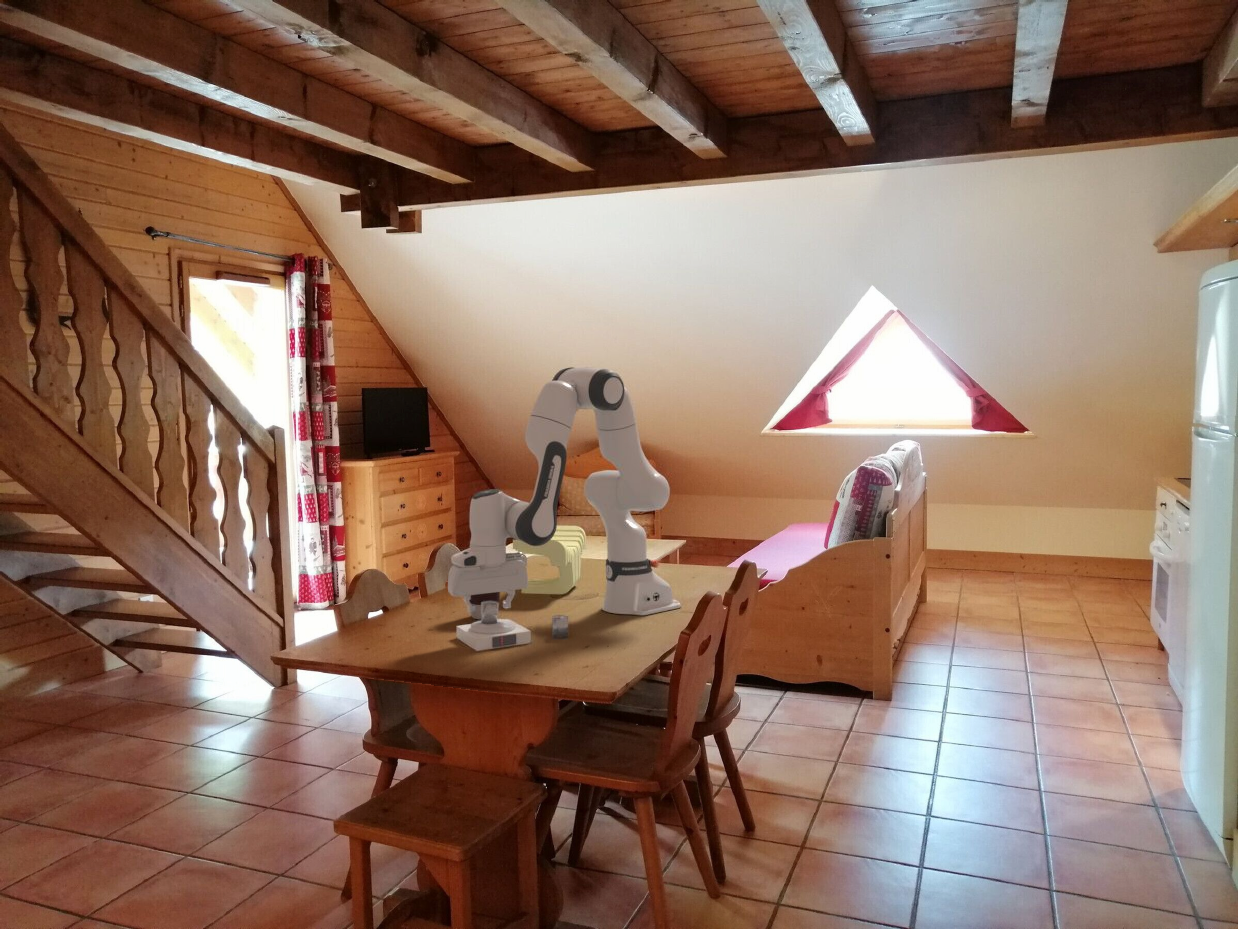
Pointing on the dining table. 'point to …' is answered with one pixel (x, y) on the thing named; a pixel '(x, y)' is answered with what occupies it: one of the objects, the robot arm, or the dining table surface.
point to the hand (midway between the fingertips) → (489, 610)
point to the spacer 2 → (560, 626)
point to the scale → (493, 634)
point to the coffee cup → (480, 598)
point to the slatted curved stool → (557, 559)
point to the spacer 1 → (489, 612)
